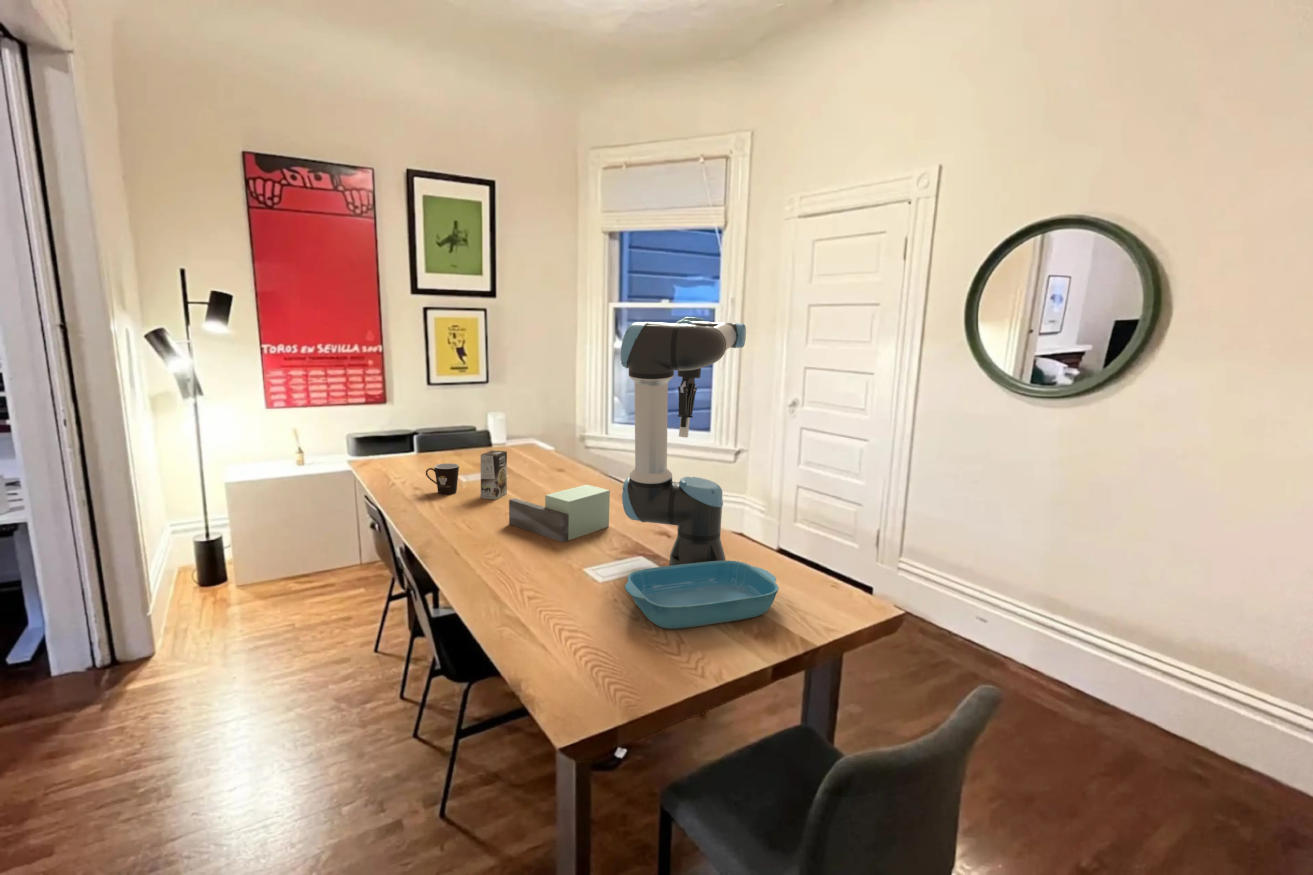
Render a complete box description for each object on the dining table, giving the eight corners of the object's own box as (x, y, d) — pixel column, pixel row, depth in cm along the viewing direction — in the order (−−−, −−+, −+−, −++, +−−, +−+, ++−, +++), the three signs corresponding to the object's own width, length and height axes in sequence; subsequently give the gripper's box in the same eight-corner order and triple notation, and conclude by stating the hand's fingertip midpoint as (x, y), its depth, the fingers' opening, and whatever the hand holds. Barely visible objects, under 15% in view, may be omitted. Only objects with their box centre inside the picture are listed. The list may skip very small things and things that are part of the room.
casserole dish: (745, 580, 164) (747, 554, 163) (795, 618, 144) (798, 588, 143) (610, 599, 150) (611, 570, 149) (645, 644, 130) (646, 611, 128)
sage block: (586, 519, 208) (586, 484, 206) (608, 526, 202) (609, 490, 200) (545, 532, 194) (545, 495, 192) (568, 540, 188) (568, 501, 186)
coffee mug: (464, 492, 234) (464, 465, 232) (445, 497, 227) (445, 469, 225) (443, 486, 240) (442, 461, 238) (424, 491, 233) (423, 464, 231)
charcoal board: (515, 522, 202) (515, 498, 201) (568, 540, 188) (568, 514, 186) (509, 524, 200) (509, 499, 199) (562, 542, 186) (562, 516, 184)
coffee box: (496, 500, 226) (496, 455, 223) (480, 498, 227) (479, 454, 224) (507, 493, 235) (507, 450, 232) (491, 492, 236) (491, 449, 233)
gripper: (685, 365, 215) (679, 434, 217) (672, 363, 203) (666, 436, 205) (706, 367, 213) (699, 437, 215) (694, 365, 200) (688, 439, 203)
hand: (683, 436), depth 210 cm, fingers closed
